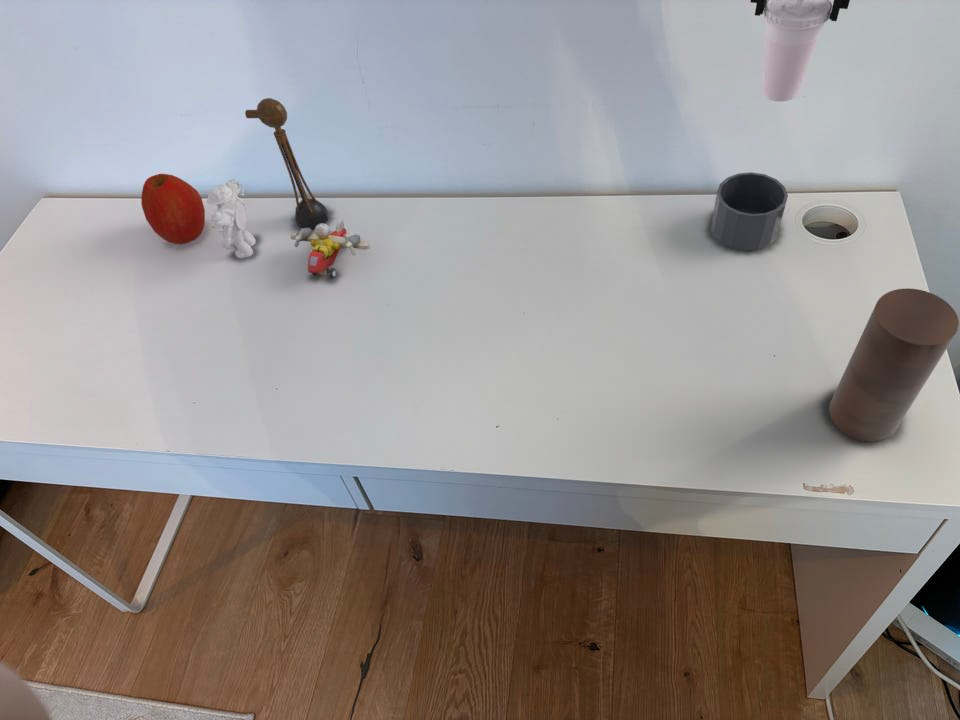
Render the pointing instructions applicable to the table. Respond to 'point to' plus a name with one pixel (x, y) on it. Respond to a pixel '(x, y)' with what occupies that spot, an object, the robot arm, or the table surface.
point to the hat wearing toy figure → (231, 217)
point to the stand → (892, 363)
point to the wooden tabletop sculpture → (290, 163)
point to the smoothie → (790, 43)
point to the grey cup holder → (748, 211)
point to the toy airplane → (327, 246)
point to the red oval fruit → (173, 208)
